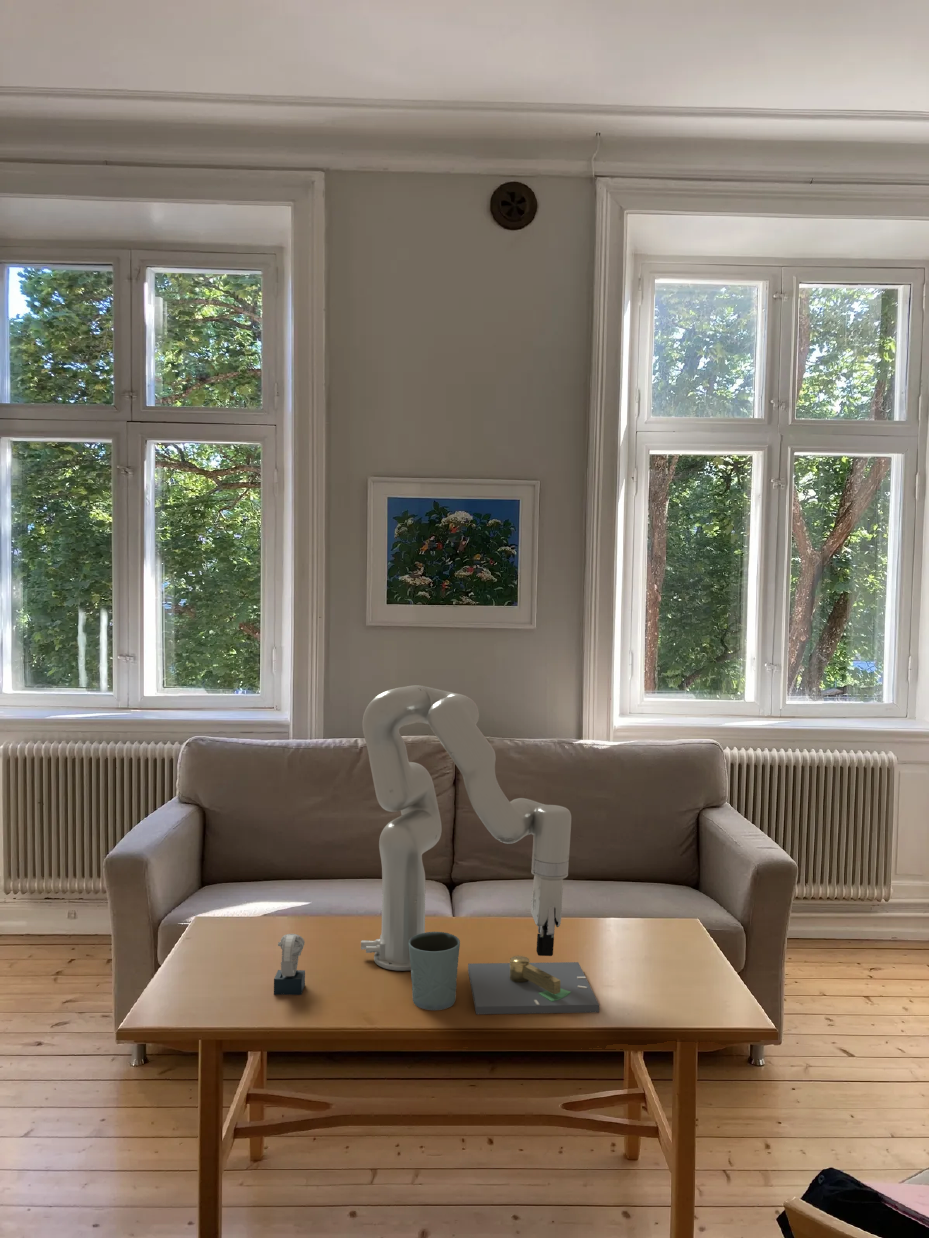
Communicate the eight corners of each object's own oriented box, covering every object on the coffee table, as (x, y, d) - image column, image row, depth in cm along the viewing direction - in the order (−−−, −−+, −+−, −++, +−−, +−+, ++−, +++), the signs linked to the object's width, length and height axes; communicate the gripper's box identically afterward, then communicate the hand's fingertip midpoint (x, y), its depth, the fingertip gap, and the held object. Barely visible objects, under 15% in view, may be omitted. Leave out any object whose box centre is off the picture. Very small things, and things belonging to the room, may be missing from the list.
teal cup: (467, 995, 177) (467, 936, 177) (445, 1016, 168) (446, 954, 167) (422, 985, 181) (422, 928, 181) (398, 1006, 172) (399, 945, 171)
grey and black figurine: (306, 980, 182) (307, 928, 182) (299, 998, 174) (300, 943, 174) (279, 980, 182) (280, 928, 182) (271, 998, 174) (272, 943, 174)
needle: (505, 976, 182) (506, 958, 182) (520, 972, 184) (520, 954, 184) (549, 1001, 171) (549, 982, 171) (564, 996, 173) (565, 977, 173)
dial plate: (476, 1014, 169) (476, 1005, 169) (468, 970, 189) (468, 962, 189) (599, 1012, 171) (599, 1003, 171) (578, 968, 191) (578, 961, 191)
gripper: (526, 854, 188) (521, 939, 188) (537, 878, 173) (531, 969, 174) (561, 855, 188) (556, 940, 189) (575, 879, 173) (569, 970, 174)
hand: (544, 953), depth 181 cm, fingers closed
